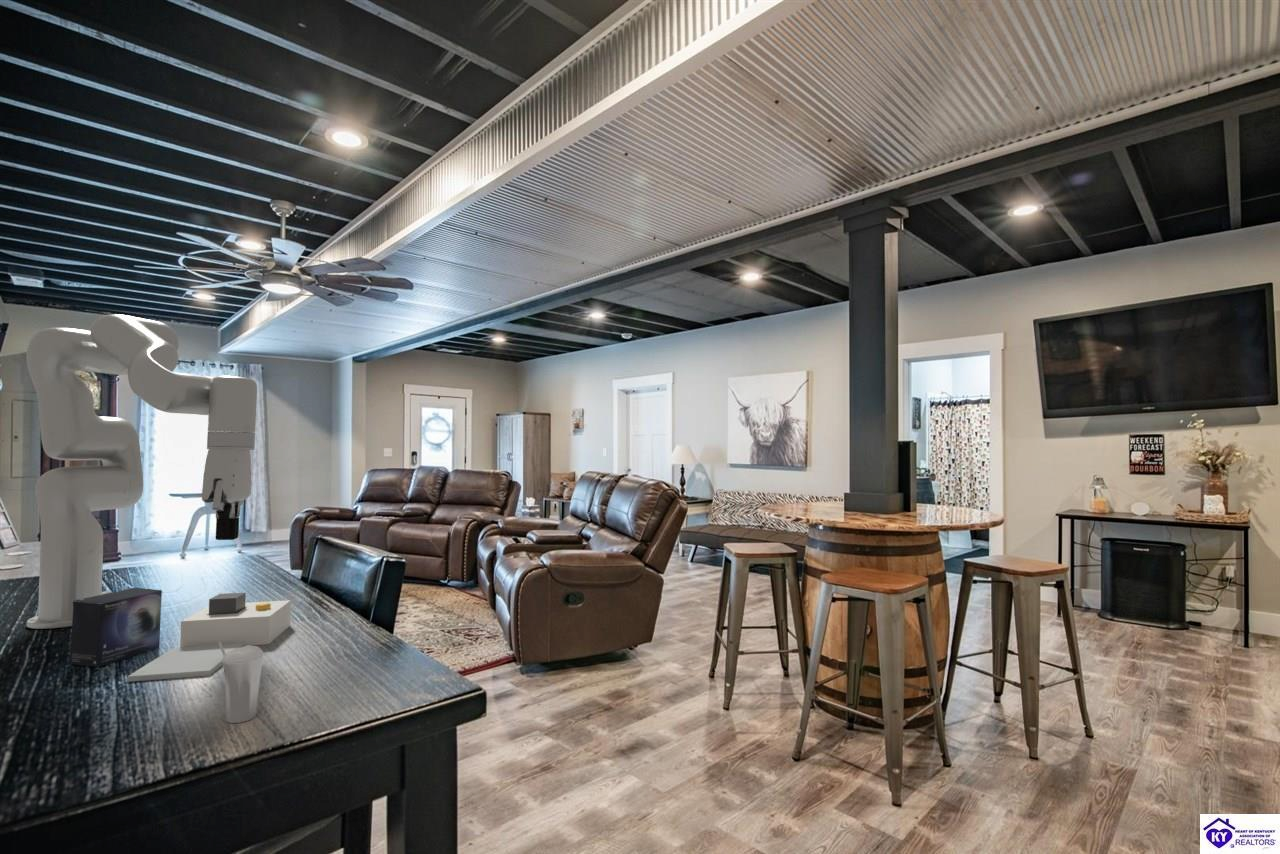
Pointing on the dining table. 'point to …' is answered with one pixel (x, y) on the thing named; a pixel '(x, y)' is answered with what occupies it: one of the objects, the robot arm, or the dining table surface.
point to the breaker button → (227, 603)
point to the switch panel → (237, 625)
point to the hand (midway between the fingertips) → (226, 539)
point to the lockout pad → (184, 662)
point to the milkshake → (242, 682)
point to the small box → (115, 626)
